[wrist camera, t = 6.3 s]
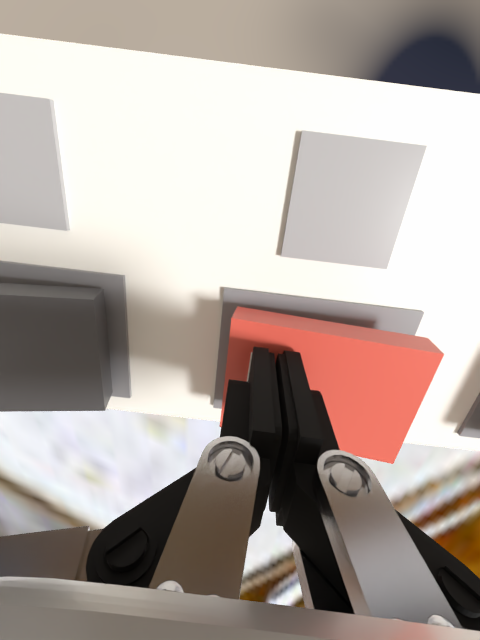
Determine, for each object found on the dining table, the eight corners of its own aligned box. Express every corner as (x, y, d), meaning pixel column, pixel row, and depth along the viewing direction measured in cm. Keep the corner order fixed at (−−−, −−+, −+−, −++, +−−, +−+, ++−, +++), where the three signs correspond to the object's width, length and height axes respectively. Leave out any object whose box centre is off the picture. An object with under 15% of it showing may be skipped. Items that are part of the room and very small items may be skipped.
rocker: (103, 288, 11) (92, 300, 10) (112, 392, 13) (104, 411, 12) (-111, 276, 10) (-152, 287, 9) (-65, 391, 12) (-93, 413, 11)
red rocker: (427, 337, 10) (445, 355, 9) (383, 440, 12) (393, 465, 11) (237, 306, 11) (231, 318, 10) (225, 407, 13) (219, 428, 12)
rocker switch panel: (1066, 207, 12) (1430, 211, 9) (785, 440, 18) (929, 505, 14) (-126, 57, 12) (-305, -8, 8) (-34, 345, 18) (-114, 386, 14)
